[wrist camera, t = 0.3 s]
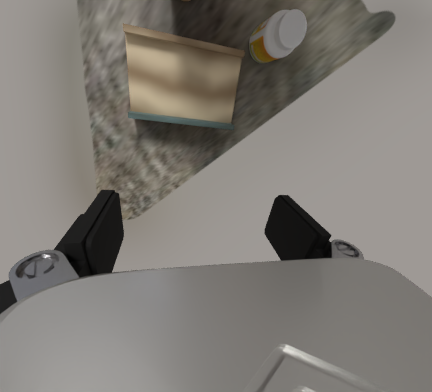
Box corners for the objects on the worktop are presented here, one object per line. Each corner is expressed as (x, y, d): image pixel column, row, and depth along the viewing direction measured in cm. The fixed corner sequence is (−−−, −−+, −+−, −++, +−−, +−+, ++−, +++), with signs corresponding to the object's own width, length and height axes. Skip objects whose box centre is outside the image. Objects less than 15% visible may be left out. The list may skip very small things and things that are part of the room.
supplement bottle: (271, 66, 34) (303, 59, 26) (245, 59, 33) (268, 50, 25) (281, 29, 32) (319, 8, 24) (252, 20, 31) (282, -6, 22)
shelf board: (127, 29, 28) (120, 20, 24) (239, 54, 32) (247, 49, 29) (133, 114, 34) (128, 117, 30) (227, 126, 38) (233, 130, 34)
